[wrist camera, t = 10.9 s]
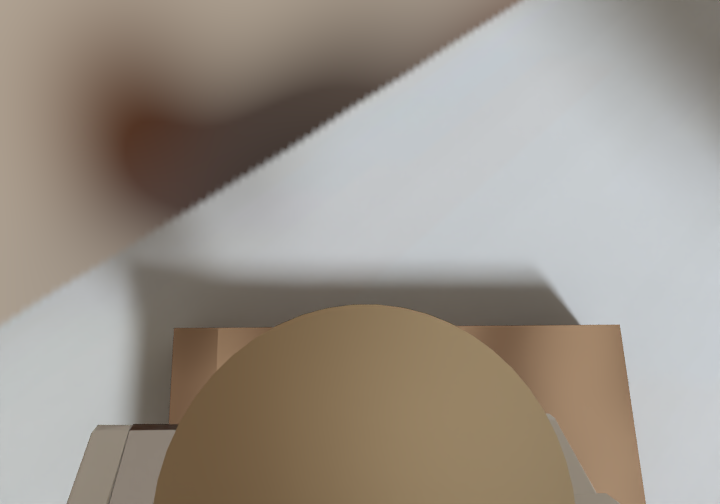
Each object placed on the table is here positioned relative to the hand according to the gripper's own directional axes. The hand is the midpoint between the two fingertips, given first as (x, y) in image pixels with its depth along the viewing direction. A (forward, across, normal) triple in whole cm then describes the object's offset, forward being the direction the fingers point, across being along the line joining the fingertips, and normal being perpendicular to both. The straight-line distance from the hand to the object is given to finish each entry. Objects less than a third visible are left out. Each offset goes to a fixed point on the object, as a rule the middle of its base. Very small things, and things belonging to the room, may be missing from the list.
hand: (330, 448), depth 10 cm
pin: (+4, 0, +5) cm, 6 cm away
